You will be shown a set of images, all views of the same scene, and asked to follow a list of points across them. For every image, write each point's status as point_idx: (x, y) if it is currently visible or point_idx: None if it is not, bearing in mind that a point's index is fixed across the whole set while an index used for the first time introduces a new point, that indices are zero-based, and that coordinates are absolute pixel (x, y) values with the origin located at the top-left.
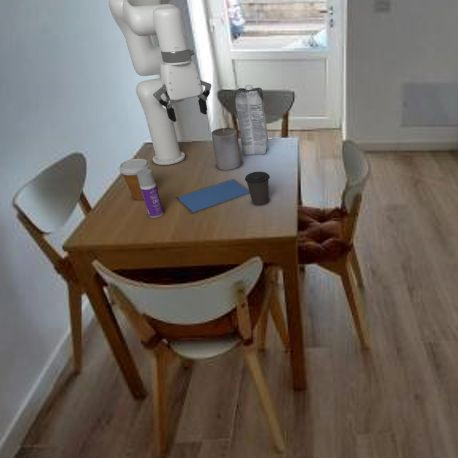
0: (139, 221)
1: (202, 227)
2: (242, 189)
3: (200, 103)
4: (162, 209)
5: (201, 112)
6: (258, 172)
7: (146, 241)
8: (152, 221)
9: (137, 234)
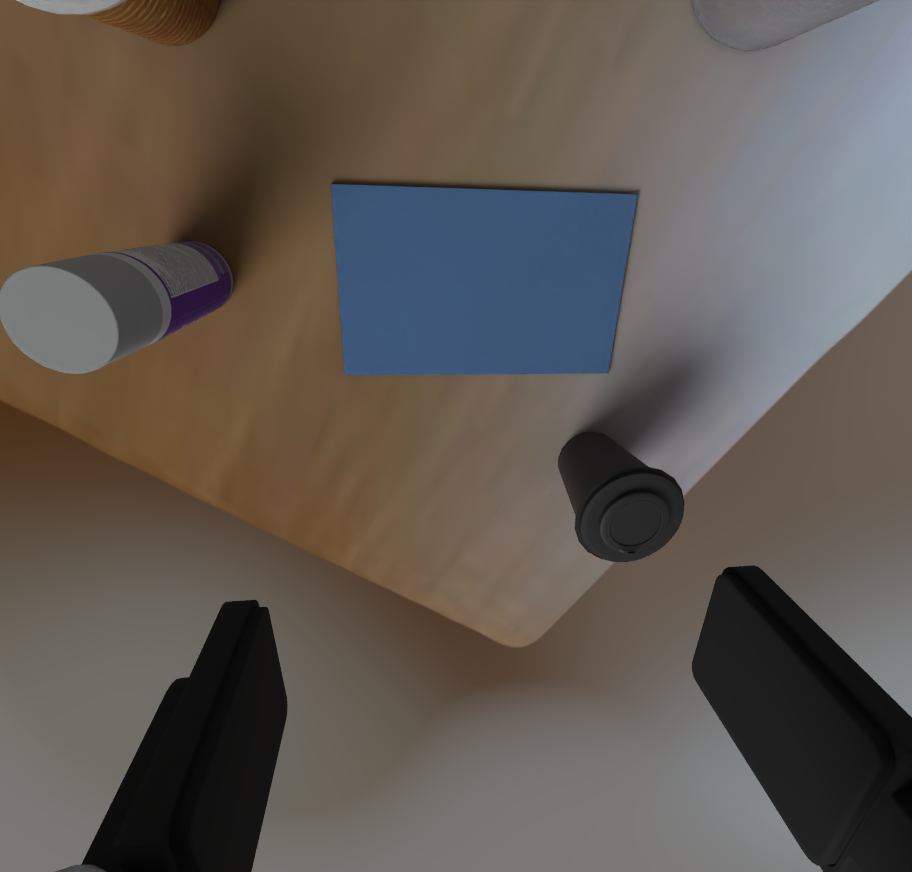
0: None
1: (336, 490)
2: (602, 331)
3: (815, 760)
4: (223, 300)
5: (715, 601)
6: (658, 507)
7: (129, 457)
8: None
9: (98, 390)
